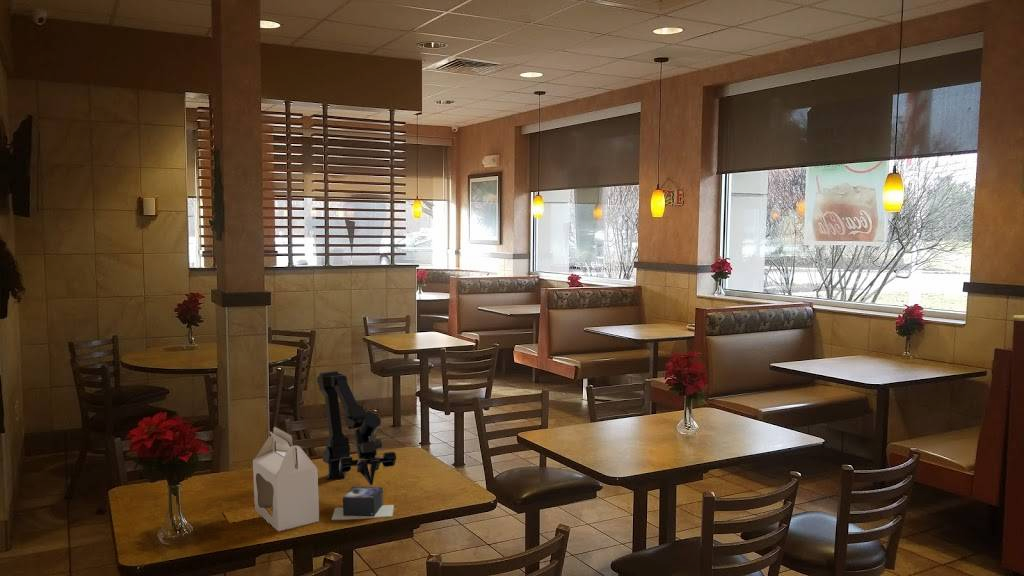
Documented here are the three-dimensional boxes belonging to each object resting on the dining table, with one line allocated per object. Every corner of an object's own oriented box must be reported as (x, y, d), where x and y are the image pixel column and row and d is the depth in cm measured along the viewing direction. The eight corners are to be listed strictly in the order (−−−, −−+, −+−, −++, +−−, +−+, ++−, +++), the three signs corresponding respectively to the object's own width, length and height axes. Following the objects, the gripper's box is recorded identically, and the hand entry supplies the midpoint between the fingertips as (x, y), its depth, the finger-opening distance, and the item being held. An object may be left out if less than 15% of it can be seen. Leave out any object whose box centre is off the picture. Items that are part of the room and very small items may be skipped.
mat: (335, 509, 250) (335, 507, 250) (393, 505, 252) (393, 504, 252) (331, 520, 240) (331, 519, 240) (392, 517, 242) (392, 515, 242)
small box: (382, 485, 251) (374, 497, 241) (383, 504, 252) (375, 517, 242) (351, 485, 252) (342, 496, 242) (352, 504, 253) (342, 516, 242)
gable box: (254, 511, 249) (251, 427, 247) (293, 502, 257) (290, 421, 255) (278, 532, 231) (275, 442, 229) (319, 521, 239) (316, 434, 237)
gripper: (339, 434, 253) (345, 476, 243) (394, 428, 259) (402, 469, 250) (336, 451, 261) (342, 492, 251) (390, 445, 267) (397, 485, 258)
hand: (371, 484), depth 252 cm, fingers closed
